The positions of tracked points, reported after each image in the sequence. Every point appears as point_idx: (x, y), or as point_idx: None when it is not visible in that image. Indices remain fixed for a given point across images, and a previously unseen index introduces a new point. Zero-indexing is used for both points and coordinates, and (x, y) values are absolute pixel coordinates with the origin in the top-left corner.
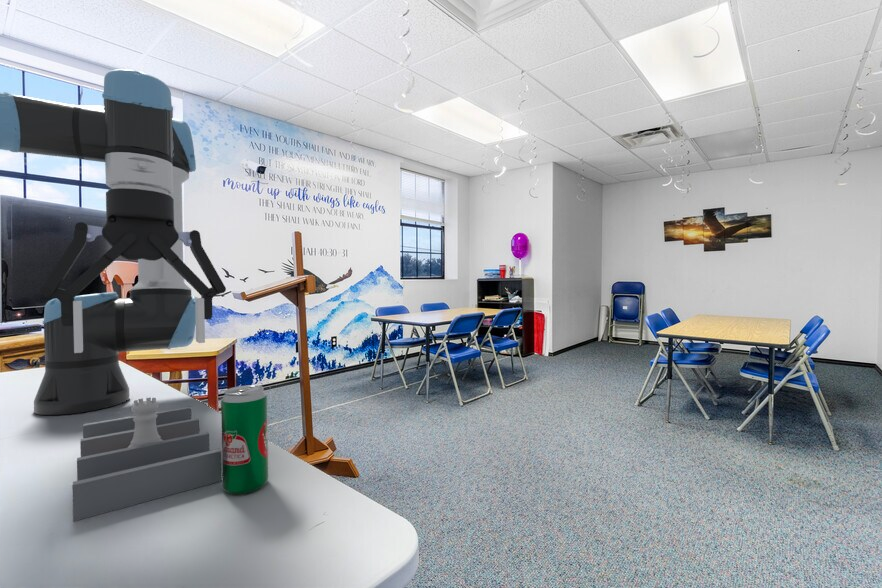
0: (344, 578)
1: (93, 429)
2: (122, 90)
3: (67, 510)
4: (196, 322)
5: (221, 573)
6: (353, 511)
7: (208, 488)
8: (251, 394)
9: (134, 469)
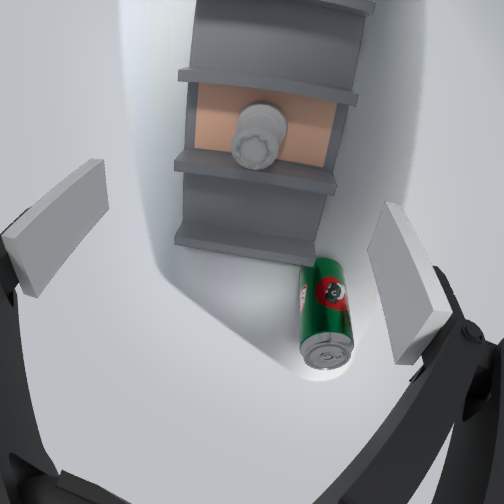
0: (297, 375)
1: None
2: None
3: (179, 196)
4: (396, 254)
5: (256, 343)
6: None
7: None
8: (324, 367)
9: (226, 248)
